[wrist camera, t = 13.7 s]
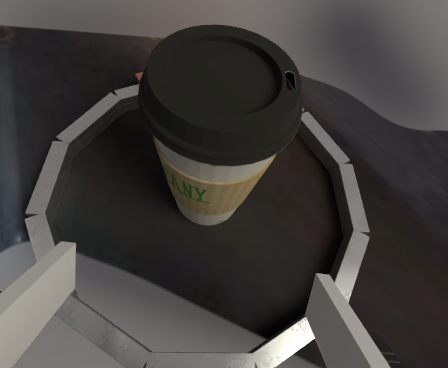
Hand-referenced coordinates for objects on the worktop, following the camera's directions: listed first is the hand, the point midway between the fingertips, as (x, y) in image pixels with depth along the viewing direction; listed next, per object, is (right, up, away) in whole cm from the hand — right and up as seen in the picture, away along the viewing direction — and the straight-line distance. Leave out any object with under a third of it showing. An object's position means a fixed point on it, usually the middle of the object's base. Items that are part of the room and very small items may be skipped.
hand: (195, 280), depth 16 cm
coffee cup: (0, +4, +13) cm, 14 cm away
